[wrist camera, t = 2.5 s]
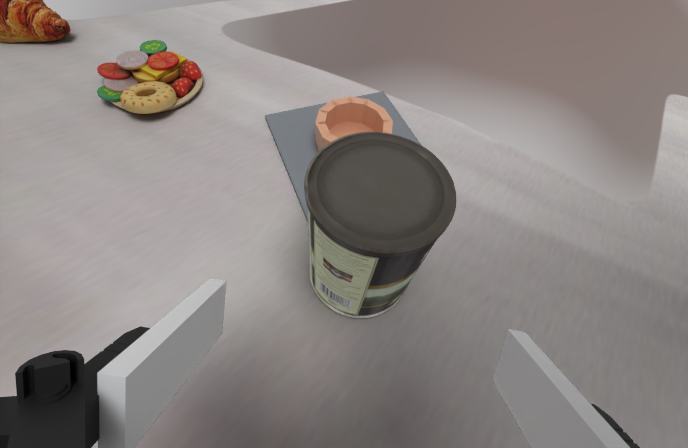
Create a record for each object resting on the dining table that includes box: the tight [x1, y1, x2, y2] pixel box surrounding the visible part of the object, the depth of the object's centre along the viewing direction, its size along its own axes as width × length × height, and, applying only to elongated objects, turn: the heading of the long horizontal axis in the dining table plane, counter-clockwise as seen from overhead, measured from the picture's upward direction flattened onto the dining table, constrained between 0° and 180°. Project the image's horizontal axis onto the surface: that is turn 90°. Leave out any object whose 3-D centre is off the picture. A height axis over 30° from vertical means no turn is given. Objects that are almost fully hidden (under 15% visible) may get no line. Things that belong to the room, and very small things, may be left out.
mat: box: [265, 92, 422, 221], centre depth 43 cm, size 18×18×1 cm
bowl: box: [315, 97, 393, 152], centre depth 41 cm, size 9×9×4 cm
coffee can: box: [304, 132, 456, 318], centre depth 28 cm, size 10×10×14 cm
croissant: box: [0, 0, 70, 43], centre depth 49 cm, size 21×10×8 cm, turn 75°
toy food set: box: [97, 40, 203, 114], centre depth 45 cm, size 13×13×3 cm
